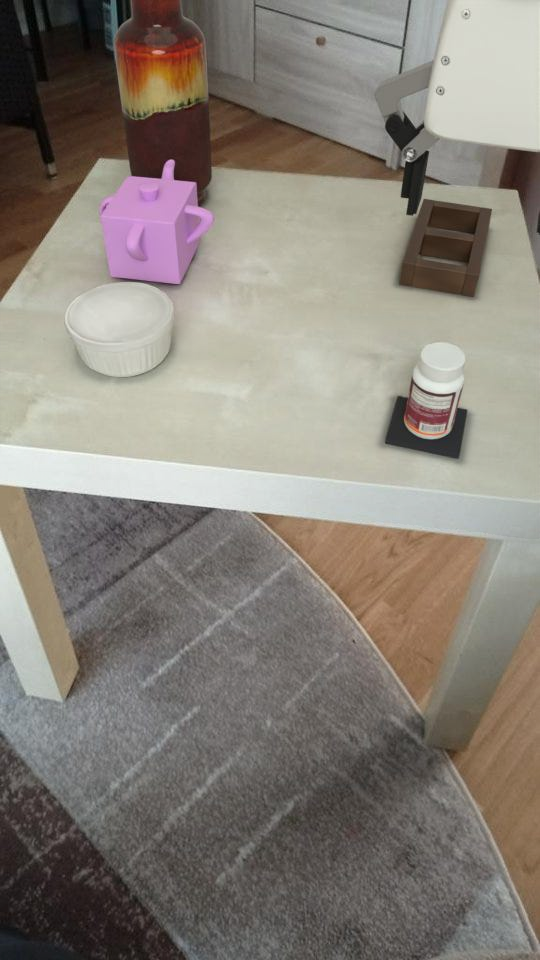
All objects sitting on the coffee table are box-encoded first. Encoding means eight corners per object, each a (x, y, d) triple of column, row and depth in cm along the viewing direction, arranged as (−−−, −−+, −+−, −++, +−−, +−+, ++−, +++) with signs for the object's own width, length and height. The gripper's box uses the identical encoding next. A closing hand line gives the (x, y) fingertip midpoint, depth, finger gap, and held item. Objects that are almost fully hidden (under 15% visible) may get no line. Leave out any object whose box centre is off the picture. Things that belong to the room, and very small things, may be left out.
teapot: (131, 220, 98) (121, 144, 91) (232, 231, 97) (230, 154, 89) (85, 296, 86) (69, 215, 79) (200, 309, 85) (194, 227, 77)
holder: (487, 229, 98) (492, 208, 96) (473, 297, 87) (479, 275, 85) (419, 219, 100) (423, 198, 97) (398, 284, 89) (402, 262, 87)
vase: (122, 211, 100) (89, -13, 81) (150, 175, 107) (125, -38, 88) (199, 221, 99) (184, -4, 79) (222, 184, 106) (214, -31, 86)
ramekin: (53, 371, 77) (42, 329, 73) (105, 312, 84) (97, 272, 80) (149, 396, 75) (143, 354, 71) (194, 333, 82) (191, 293, 78)
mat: (466, 413, 73) (467, 409, 73) (458, 459, 69) (459, 454, 69) (397, 399, 75) (397, 395, 74) (385, 443, 70) (385, 439, 70)
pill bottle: (422, 400, 74) (437, 332, 68) (462, 424, 72) (481, 355, 65) (392, 423, 72) (405, 354, 65) (432, 448, 69) (449, 379, 63)
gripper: (692, -61, 44) (595, 210, 56) (404, -83, 47) (374, 179, 60) (704, -29, 39) (595, 260, 52) (382, -55, 42) (354, 223, 55)
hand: (476, 216), depth 56 cm, fingers open, 9 cm apart
